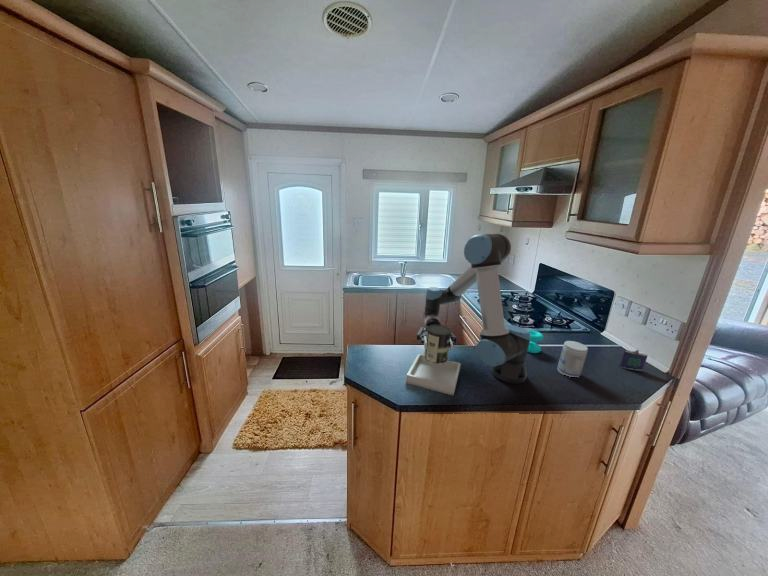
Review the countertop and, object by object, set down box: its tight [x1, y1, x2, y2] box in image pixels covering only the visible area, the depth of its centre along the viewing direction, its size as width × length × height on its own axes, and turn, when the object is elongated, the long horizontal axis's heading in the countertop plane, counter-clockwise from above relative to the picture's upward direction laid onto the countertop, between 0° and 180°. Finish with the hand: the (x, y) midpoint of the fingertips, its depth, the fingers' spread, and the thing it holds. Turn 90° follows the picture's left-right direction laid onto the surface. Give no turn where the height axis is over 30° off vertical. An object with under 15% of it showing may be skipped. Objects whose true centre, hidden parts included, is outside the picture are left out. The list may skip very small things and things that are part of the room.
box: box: [405, 353, 462, 397], centre depth 129 cm, size 20×20×4 cm
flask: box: [619, 349, 648, 370], centre depth 143 cm, size 9×3×11 cm, turn 68°
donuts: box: [526, 329, 545, 354], centre depth 158 cm, size 10×10×10 cm
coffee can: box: [423, 324, 452, 365], centre depth 125 cm, size 10×10×14 cm
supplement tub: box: [557, 340, 589, 378], centre depth 136 cm, size 10×10×15 cm
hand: (438, 347), depth 121 cm, fingers closed on coffee can, 10 cm apart
